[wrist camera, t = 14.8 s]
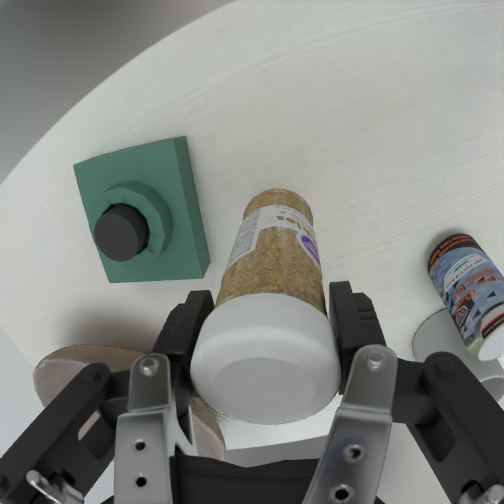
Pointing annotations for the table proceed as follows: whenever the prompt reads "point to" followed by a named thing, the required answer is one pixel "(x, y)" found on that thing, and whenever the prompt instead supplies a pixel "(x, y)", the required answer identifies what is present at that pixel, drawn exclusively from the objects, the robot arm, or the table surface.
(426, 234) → the table surface
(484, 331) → the beverage can
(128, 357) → the bowl
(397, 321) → the table surface
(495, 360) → the mug
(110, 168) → the green push button box
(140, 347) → the table surface
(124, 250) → the button
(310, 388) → the sprinkles bottle
